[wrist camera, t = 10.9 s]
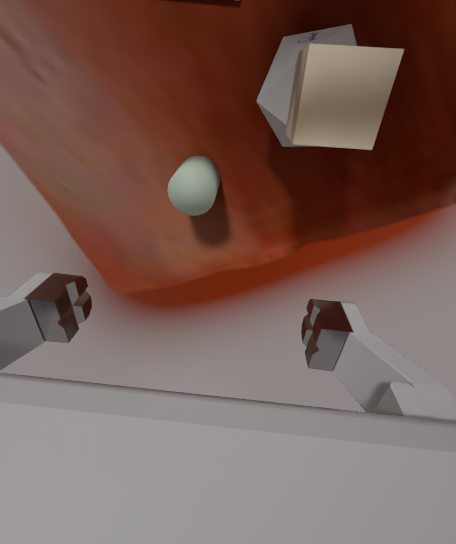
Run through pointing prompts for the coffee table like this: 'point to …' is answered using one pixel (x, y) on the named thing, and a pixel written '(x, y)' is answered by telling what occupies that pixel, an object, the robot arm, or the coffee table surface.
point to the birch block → (340, 94)
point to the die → (282, 71)
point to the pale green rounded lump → (194, 186)
